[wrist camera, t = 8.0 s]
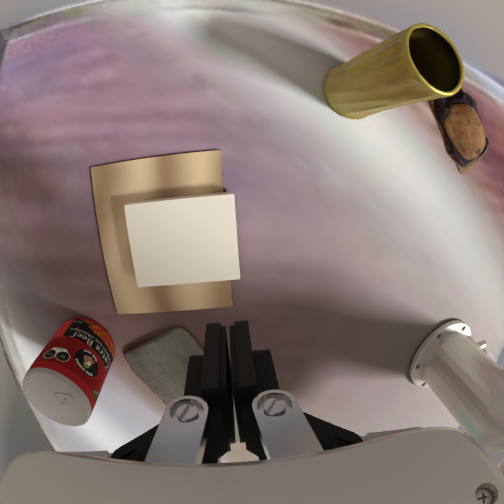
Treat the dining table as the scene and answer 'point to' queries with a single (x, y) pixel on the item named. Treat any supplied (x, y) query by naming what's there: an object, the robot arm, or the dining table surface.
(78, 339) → the canned food
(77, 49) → the dining table surface
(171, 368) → the stone slab
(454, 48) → the vase
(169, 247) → the tile
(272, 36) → the dining table surface
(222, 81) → the dining table surface
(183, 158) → the mat
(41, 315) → the dining table surface
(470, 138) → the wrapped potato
